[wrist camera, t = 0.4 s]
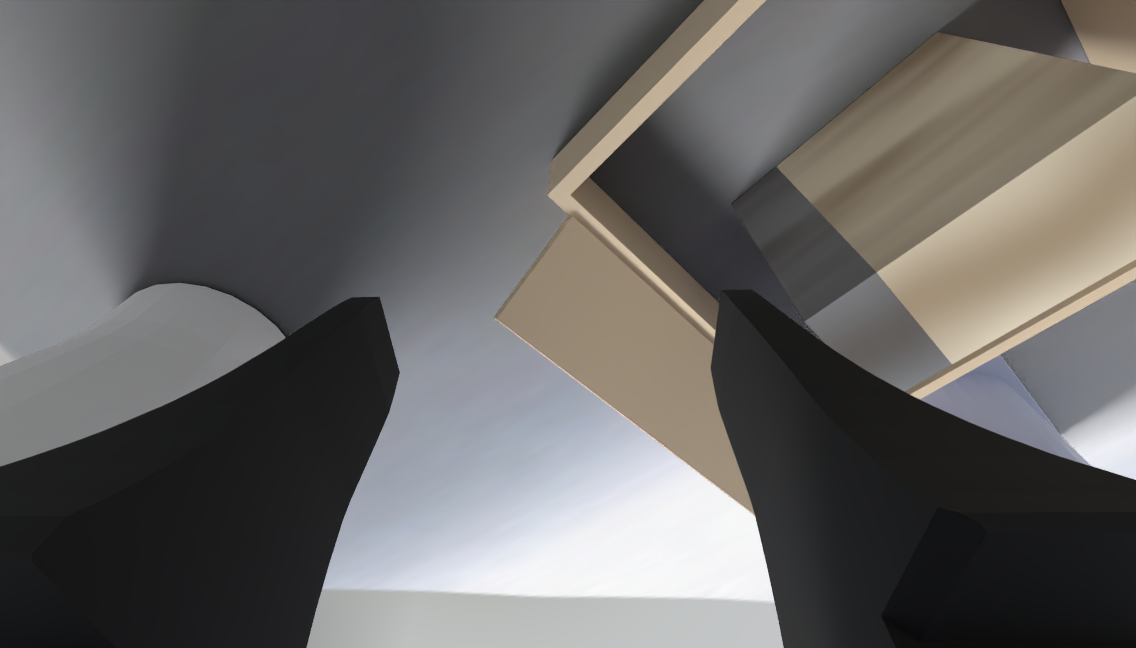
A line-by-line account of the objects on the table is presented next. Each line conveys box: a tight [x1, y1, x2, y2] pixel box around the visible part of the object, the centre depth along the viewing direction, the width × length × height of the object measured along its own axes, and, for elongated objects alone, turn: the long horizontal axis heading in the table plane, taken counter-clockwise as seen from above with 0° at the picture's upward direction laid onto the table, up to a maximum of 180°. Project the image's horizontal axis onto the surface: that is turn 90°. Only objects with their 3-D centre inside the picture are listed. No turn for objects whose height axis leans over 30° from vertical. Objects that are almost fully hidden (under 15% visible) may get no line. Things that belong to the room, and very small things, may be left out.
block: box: [731, 32, 1136, 392], centre depth 16 cm, size 4×8×8 cm, turn 136°
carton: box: [493, 0, 1136, 516], centre depth 17 cm, size 16×22×6 cm
